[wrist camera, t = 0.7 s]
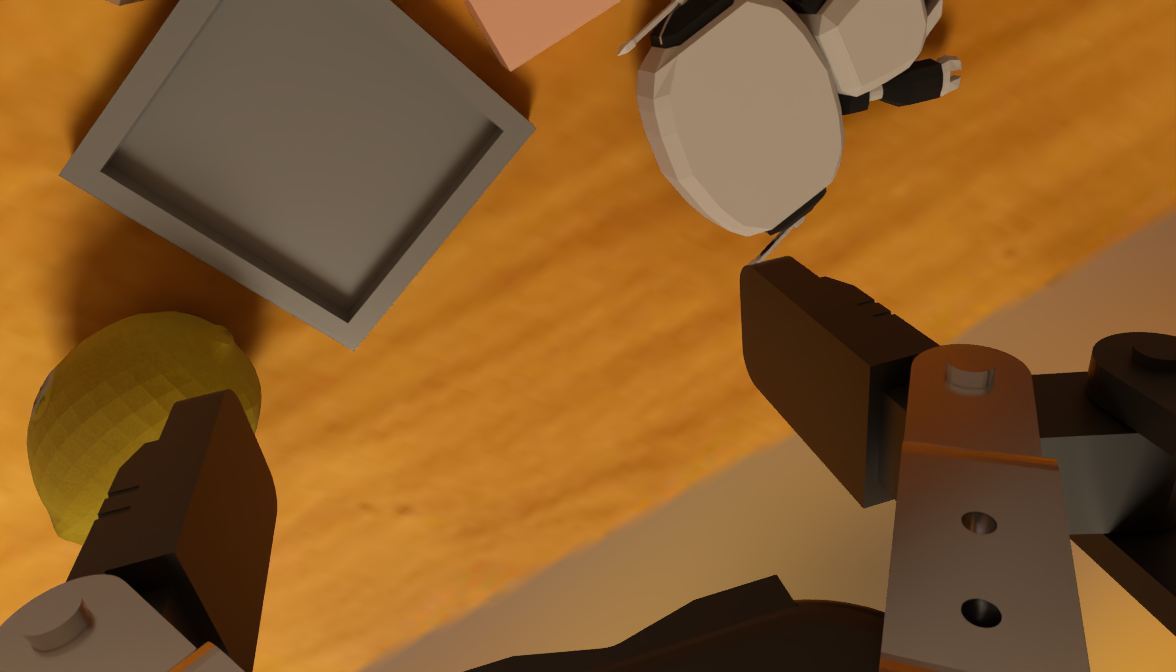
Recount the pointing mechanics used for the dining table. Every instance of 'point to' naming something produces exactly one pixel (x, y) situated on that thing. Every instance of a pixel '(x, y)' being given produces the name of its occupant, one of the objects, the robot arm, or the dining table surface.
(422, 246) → the tray
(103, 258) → the dining table surface
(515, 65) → the terracotta block
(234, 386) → the lemon
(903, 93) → the robot toy
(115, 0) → the walnut cube
